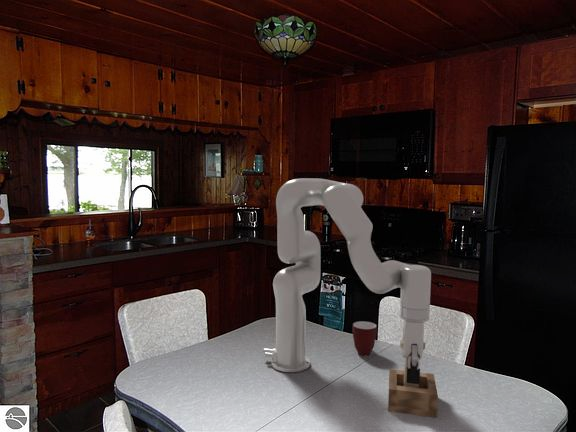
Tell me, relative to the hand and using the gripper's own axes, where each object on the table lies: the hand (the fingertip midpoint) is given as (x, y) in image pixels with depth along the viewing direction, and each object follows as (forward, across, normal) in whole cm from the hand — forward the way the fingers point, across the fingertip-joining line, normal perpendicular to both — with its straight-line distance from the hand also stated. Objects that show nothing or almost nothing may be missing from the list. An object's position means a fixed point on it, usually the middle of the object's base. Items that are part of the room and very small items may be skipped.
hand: (412, 374), depth 117 cm
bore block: (+8, 0, 0) cm, 8 cm away
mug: (+8, -31, -15) cm, 35 cm away
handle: (+6, 0, 0) cm, 7 cm away
